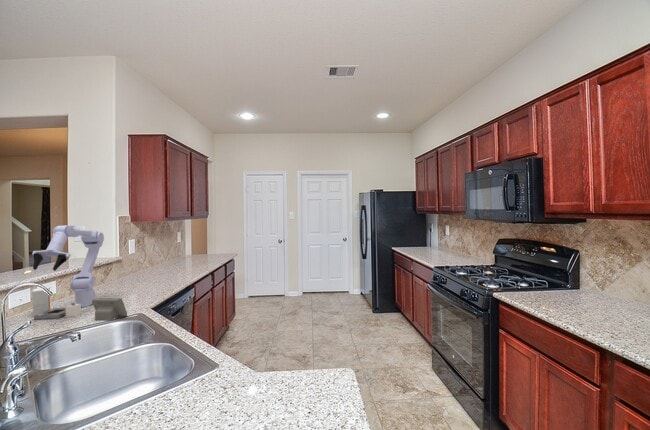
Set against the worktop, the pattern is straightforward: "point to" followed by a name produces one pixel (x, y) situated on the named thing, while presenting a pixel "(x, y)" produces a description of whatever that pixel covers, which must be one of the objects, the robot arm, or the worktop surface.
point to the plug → (73, 310)
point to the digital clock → (108, 308)
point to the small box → (40, 301)
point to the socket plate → (51, 314)
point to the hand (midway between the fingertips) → (44, 269)
